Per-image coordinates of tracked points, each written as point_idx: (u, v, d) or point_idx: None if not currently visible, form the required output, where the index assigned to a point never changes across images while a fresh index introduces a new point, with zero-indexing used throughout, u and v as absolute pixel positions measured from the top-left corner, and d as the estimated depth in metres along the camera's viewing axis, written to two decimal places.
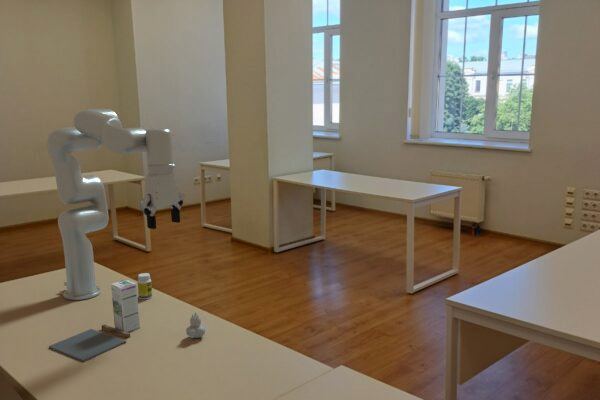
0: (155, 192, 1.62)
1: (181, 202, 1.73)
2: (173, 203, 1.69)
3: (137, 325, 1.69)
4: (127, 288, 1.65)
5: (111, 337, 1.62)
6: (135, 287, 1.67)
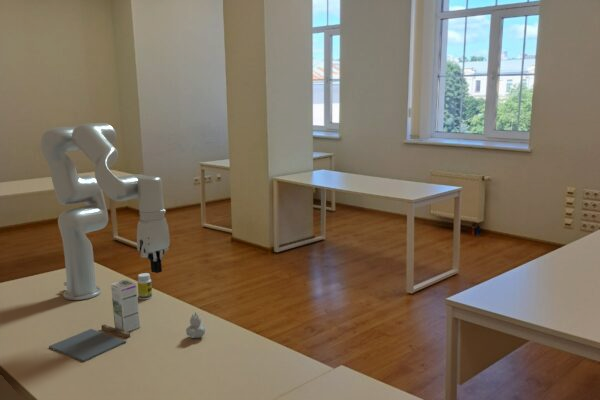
0: (147, 237, 1.70)
1: (162, 252, 1.77)
2: (164, 247, 1.76)
3: (137, 325, 1.69)
4: (127, 288, 1.65)
5: (111, 337, 1.62)
6: (135, 287, 1.67)
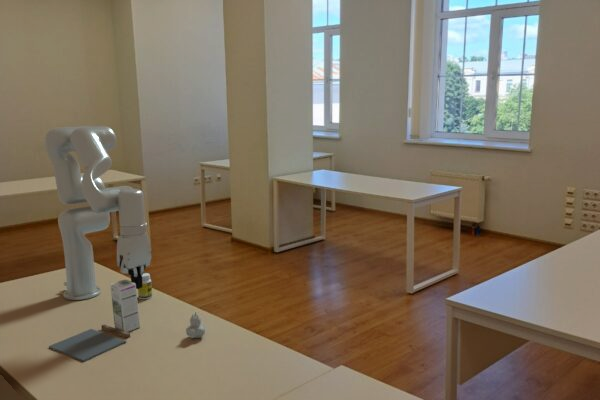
0: (127, 253, 1.64)
1: (144, 267, 1.72)
2: (146, 262, 1.70)
3: (137, 325, 1.69)
4: (126, 288, 1.64)
5: (111, 337, 1.62)
6: (134, 287, 1.66)
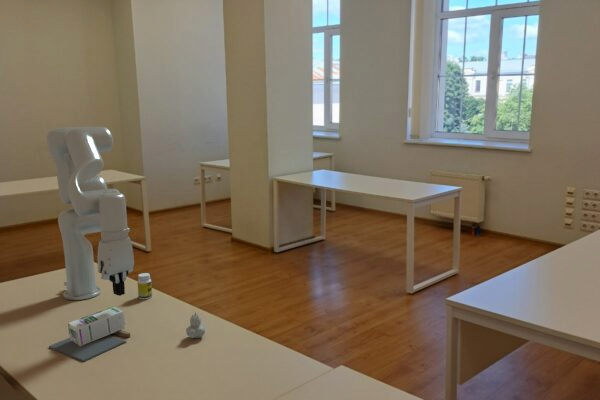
0: (108, 259, 1.59)
1: (126, 273, 1.66)
2: (128, 268, 1.65)
3: (120, 315, 1.64)
4: (80, 338, 1.56)
5: (111, 337, 1.62)
6: (81, 328, 1.55)
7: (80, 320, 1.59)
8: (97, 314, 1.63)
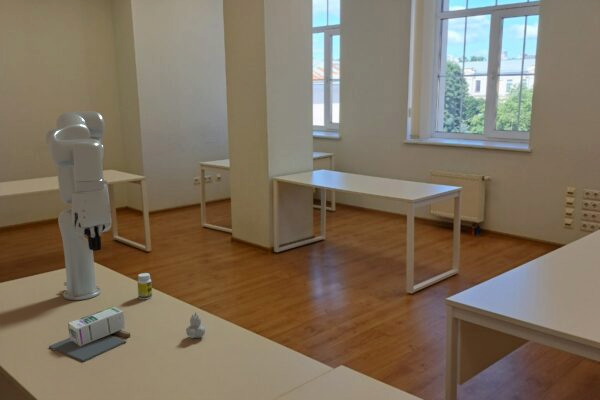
0: (82, 210, 1.50)
1: (102, 227, 1.58)
2: (104, 222, 1.56)
3: (120, 315, 1.64)
4: (80, 338, 1.56)
5: (111, 337, 1.62)
6: (81, 328, 1.55)
7: (80, 320, 1.59)
8: (97, 314, 1.63)
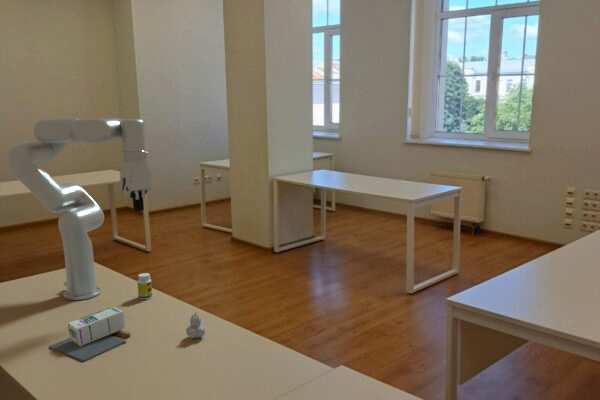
0: (129, 176, 1.80)
1: (145, 191, 1.87)
2: (146, 187, 1.86)
3: (120, 315, 1.64)
4: (80, 338, 1.56)
5: (111, 337, 1.62)
6: (81, 328, 1.55)
7: (80, 320, 1.59)
8: (97, 314, 1.63)
